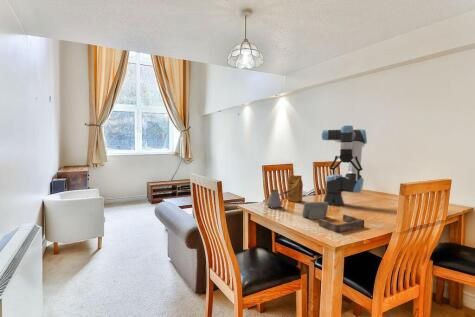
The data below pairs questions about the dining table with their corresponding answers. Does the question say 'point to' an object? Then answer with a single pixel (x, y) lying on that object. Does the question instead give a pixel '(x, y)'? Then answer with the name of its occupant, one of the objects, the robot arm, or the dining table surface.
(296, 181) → the coffee package
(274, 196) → the coffee pot
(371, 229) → the dining table surface
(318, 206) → the digital clock
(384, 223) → the dining table surface
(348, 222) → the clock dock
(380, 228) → the dining table surface
